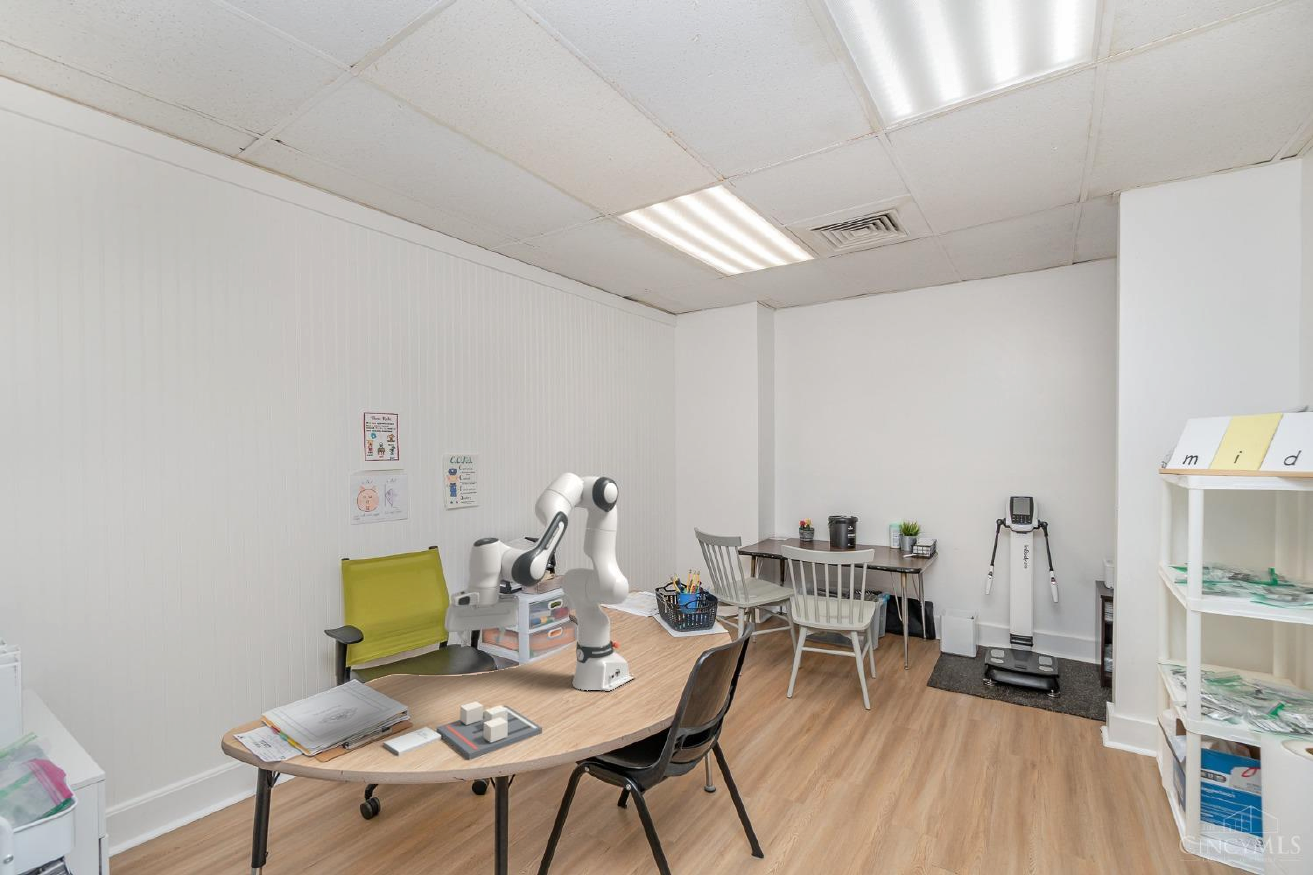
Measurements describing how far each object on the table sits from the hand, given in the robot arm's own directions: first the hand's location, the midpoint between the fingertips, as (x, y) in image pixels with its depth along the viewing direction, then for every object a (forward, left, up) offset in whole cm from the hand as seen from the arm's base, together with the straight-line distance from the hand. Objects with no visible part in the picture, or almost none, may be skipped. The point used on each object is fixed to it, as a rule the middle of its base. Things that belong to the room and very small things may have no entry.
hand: (481, 644), depth 170 cm
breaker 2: (0, +9, -23) cm, 25 cm away
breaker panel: (-2, +2, -25) cm, 25 cm away
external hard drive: (+16, -7, -25) cm, 31 cm away
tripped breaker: (-4, +2, -23) cm, 23 cm away
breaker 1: (0, -5, -23) cm, 23 cm away
